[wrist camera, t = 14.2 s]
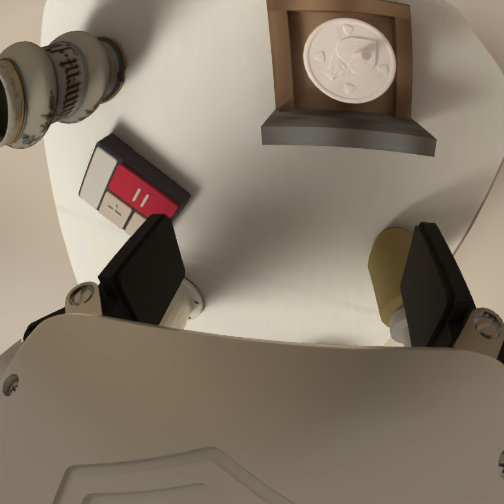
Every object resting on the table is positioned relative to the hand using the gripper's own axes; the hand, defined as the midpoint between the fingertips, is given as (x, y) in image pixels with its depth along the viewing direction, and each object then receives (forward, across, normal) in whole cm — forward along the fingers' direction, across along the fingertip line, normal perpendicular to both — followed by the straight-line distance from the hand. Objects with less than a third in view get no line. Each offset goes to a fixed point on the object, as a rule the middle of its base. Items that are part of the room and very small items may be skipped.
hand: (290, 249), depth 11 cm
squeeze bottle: (+24, -12, +16) cm, 31 cm away
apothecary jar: (+24, +26, -11) cm, 37 cm away
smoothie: (+22, -4, -7) cm, 23 cm away
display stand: (+23, -4, -7) cm, 25 cm away
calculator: (+25, +25, +8) cm, 36 cm away
